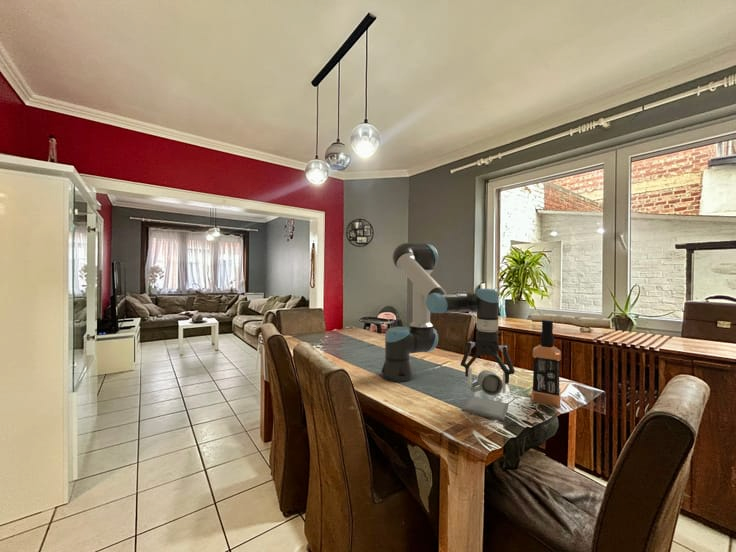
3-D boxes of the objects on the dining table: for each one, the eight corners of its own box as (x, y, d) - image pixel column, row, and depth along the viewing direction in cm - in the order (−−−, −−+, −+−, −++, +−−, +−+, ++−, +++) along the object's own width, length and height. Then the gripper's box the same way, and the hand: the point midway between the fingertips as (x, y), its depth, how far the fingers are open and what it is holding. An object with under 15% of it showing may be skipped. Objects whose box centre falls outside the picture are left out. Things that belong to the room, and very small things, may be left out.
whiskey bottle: (560, 407, 115) (562, 323, 114) (530, 401, 120) (532, 320, 119) (560, 398, 124) (561, 319, 123) (532, 392, 129) (534, 317, 128)
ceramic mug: (496, 387, 117) (495, 367, 117) (503, 396, 109) (502, 374, 109) (467, 387, 118) (467, 367, 118) (472, 395, 110) (472, 374, 110)
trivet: (462, 410, 111) (462, 408, 111) (470, 397, 123) (470, 395, 123) (503, 421, 104) (503, 418, 104) (508, 405, 116) (508, 403, 116)
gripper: (452, 328, 116) (451, 385, 116) (521, 335, 104) (521, 399, 104) (457, 325, 123) (457, 379, 123) (523, 332, 110) (522, 391, 111)
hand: (486, 388), depth 113 cm, fingers closed on ceramic mug, 11 cm apart
